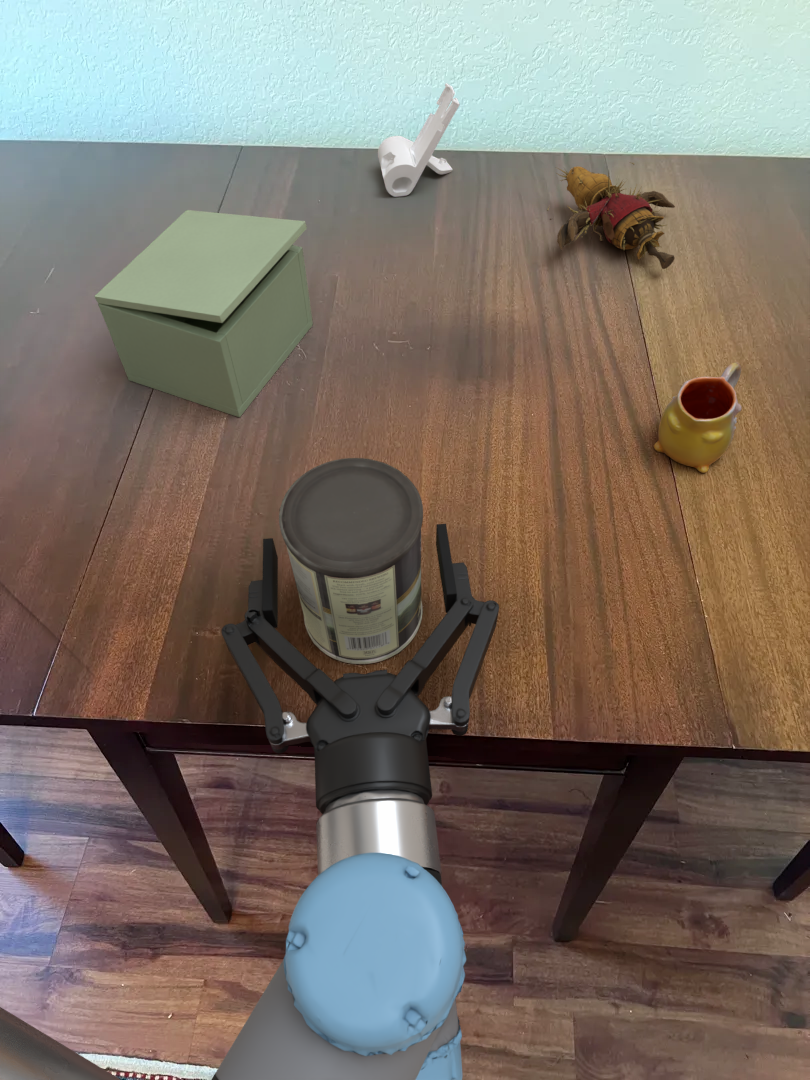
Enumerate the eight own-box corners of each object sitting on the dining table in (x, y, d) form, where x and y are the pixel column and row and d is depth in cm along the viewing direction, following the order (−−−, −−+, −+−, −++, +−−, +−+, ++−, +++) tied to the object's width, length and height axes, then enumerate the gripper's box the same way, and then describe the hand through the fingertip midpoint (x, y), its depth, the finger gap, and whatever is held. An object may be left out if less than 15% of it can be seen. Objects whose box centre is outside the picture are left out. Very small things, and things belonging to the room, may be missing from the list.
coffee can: (379, 543, 71) (372, 436, 60) (446, 624, 66) (452, 525, 55) (280, 598, 68) (252, 496, 56) (342, 688, 63) (326, 597, 51)
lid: (307, 228, 79) (305, 220, 78) (222, 323, 70) (219, 315, 70) (189, 216, 84) (186, 209, 84) (97, 303, 76) (93, 296, 75)
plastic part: (378, 168, 108) (373, 79, 99) (449, 161, 109) (451, 72, 99) (385, 198, 104) (381, 107, 94) (458, 190, 104) (461, 100, 95)
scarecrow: (670, 207, 102) (688, 147, 96) (675, 282, 92) (695, 221, 86) (540, 196, 104) (549, 136, 97) (531, 268, 94) (540, 207, 88)
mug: (702, 483, 75) (725, 435, 69) (640, 449, 77) (657, 400, 72) (760, 414, 80) (785, 365, 74) (699, 384, 82) (719, 334, 77)
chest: (313, 324, 89) (302, 247, 81) (239, 417, 81) (219, 341, 72) (209, 294, 92) (188, 217, 84) (128, 380, 84) (97, 303, 76)
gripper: (192, 845, 52) (209, 580, 65) (558, 808, 53) (506, 554, 66) (162, 811, 46) (187, 526, 59) (577, 771, 47) (515, 498, 60)
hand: (356, 540), depth 62 cm, fingers open, 13 cm apart
